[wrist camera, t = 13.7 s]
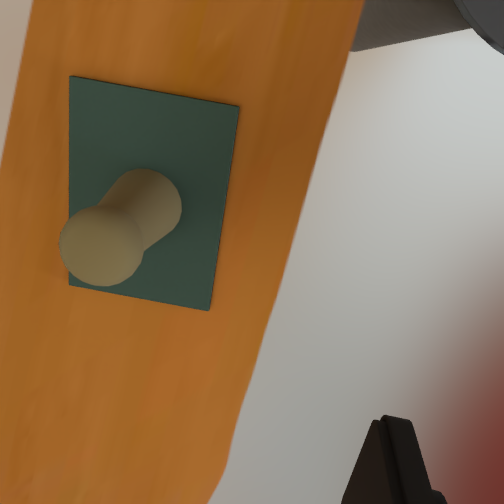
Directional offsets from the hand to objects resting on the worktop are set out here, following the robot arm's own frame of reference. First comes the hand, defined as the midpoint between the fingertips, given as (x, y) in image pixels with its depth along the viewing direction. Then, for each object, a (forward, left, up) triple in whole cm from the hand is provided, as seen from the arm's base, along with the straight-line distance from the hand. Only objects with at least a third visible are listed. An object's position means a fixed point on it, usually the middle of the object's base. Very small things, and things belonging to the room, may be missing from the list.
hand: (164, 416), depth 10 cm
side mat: (+8, +5, -28) cm, 29 cm away
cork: (+8, +5, -27) cm, 29 cm away
